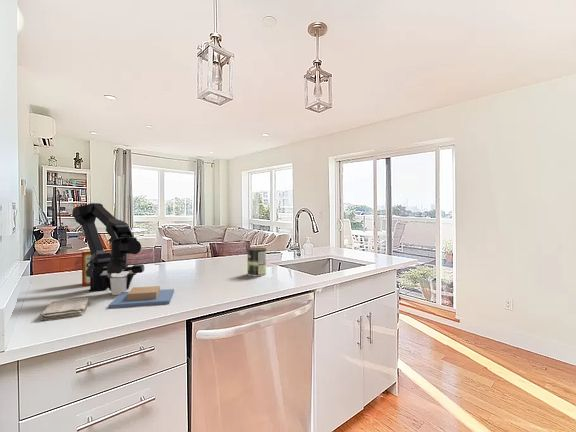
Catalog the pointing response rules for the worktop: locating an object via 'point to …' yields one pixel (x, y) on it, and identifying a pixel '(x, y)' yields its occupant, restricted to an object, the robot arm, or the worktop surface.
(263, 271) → the coffee can
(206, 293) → the worktop surface
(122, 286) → the white cup
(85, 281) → the baking soda box
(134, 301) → the board
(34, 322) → the worktop surface
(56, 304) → the washcloth
